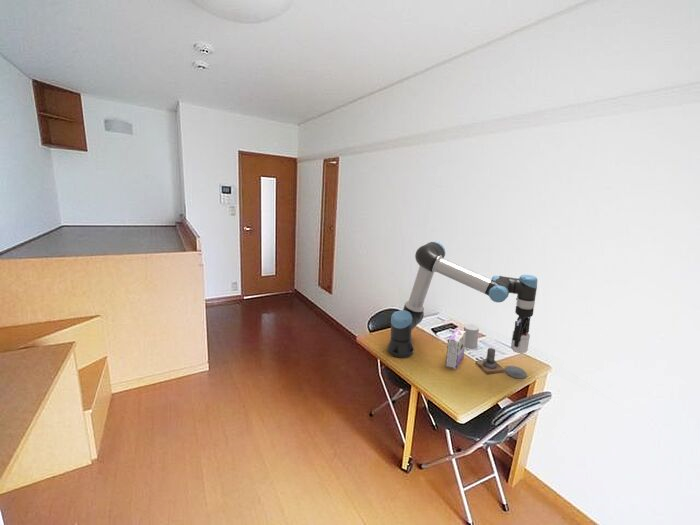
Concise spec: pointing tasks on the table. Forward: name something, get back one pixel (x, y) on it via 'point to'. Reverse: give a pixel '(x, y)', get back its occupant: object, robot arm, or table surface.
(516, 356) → the table surface
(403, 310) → the robot arm
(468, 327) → the cup
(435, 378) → the table surface
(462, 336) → the candy box
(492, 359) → the post stand
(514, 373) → the coaster
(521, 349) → the grey cylinder
